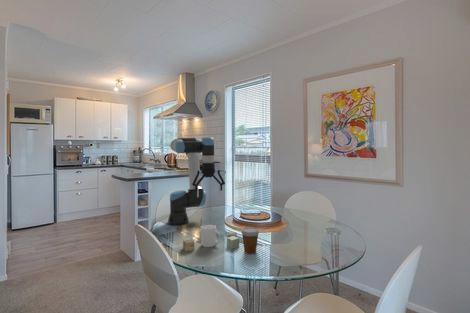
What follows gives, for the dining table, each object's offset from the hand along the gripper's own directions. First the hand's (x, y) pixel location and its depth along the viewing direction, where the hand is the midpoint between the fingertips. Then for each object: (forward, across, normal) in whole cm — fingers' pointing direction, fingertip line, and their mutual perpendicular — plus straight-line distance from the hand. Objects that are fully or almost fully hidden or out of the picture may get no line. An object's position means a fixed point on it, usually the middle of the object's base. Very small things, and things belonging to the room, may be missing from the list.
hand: (208, 196), depth 169 cm
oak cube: (+26, -13, -16) cm, 34 cm away
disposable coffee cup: (+27, +20, -27) cm, 43 cm away
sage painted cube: (+26, +12, -18) cm, 34 cm away
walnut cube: (+26, +13, -10) cm, 31 cm away
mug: (+26, 0, -14) cm, 30 cm away
